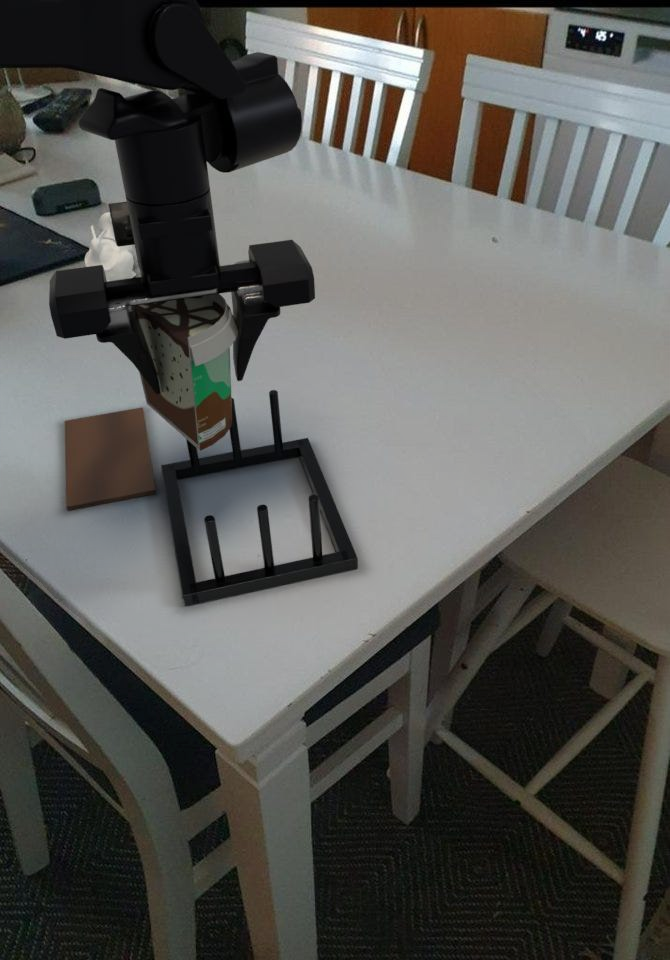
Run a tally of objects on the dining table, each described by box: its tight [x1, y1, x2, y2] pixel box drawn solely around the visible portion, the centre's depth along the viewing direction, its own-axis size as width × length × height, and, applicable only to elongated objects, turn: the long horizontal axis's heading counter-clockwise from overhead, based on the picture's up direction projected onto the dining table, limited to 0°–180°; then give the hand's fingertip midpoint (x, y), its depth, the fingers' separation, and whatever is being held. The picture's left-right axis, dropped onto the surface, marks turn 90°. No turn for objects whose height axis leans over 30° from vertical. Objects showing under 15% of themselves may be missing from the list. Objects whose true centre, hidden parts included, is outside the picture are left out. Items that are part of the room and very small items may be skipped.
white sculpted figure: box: [84, 211, 137, 281], centre depth 107 cm, size 12×8×10 cm, turn 167°
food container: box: [135, 293, 237, 452], centre depth 64 cm, size 12×6×10 cm, turn 37°
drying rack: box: [160, 389, 359, 607], centre depth 69 cm, size 14×17×8 cm
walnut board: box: [64, 407, 157, 511], centre depth 79 cm, size 8×14×1 cm, turn 15°
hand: (199, 384), depth 65 cm, fingers closed on food container, 6 cm apart
